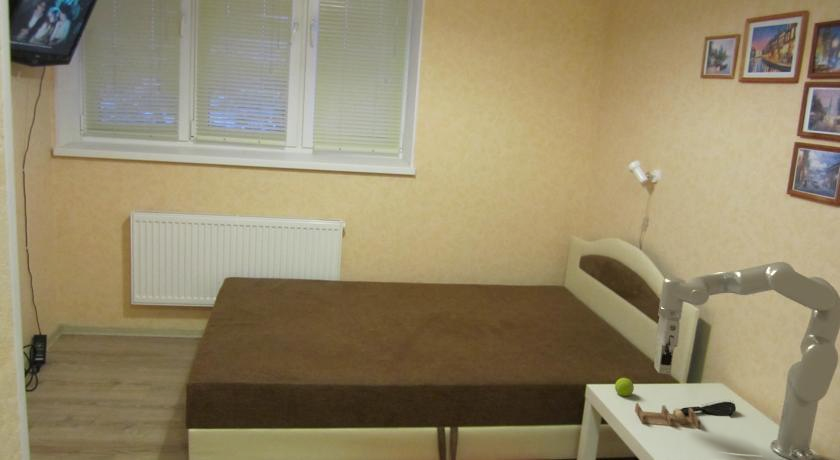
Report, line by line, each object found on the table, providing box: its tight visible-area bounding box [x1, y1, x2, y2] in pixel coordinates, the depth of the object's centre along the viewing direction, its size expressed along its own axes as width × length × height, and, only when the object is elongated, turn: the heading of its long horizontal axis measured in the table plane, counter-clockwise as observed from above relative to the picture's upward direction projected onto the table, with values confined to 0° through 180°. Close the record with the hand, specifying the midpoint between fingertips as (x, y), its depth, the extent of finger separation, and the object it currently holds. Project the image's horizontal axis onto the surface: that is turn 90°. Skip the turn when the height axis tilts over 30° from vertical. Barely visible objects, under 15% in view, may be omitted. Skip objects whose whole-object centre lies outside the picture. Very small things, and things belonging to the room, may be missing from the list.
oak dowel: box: [672, 408, 688, 425], centre depth 236 cm, size 7×3×3 cm, turn 176°
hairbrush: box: [679, 399, 737, 417], centre depth 245 cm, size 8×4×25 cm
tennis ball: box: [614, 377, 635, 397], centre depth 255 cm, size 7×7×7 cm
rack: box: [634, 402, 701, 430], centre depth 236 cm, size 10×20×4 cm, turn 86°
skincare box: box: [653, 337, 674, 375], centre depth 232 cm, size 6×4×12 cm
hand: (662, 360), depth 232 cm, fingers closed on skincare box, 6 cm apart
